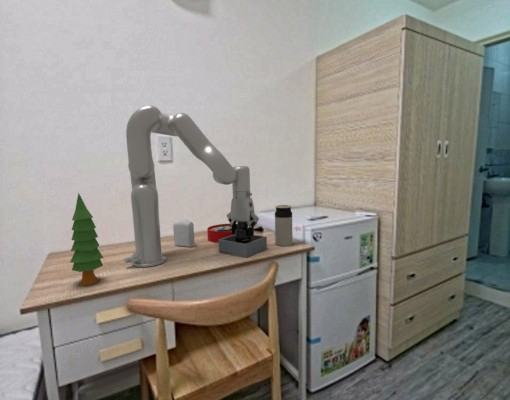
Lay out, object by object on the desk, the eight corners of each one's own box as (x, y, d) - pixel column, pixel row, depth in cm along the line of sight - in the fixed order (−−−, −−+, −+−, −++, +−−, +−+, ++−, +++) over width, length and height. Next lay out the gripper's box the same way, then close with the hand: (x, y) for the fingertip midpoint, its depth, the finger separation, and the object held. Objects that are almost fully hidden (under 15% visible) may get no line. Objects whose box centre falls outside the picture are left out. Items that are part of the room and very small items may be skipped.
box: (246, 257, 121) (245, 244, 121) (218, 252, 130) (218, 239, 129) (266, 248, 133) (266, 236, 133) (240, 244, 142) (240, 232, 141)
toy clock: (251, 229, 147) (211, 233, 141) (252, 241, 148) (211, 245, 142) (240, 222, 166) (204, 225, 160) (240, 232, 167) (204, 236, 160)
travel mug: (291, 246, 136) (291, 207, 133) (274, 246, 137) (273, 207, 135) (293, 242, 143) (292, 204, 141) (276, 241, 145) (275, 204, 143)
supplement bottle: (245, 251, 127) (245, 223, 125) (232, 249, 130) (231, 222, 129) (253, 247, 132) (253, 220, 131) (240, 246, 136) (240, 219, 135)
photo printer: (173, 245, 143) (171, 220, 141) (179, 243, 146) (177, 218, 145) (190, 247, 138) (188, 221, 136) (196, 245, 142) (194, 219, 140)
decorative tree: (71, 289, 94) (61, 194, 90) (74, 279, 103) (65, 191, 99) (105, 283, 98) (97, 192, 95) (106, 274, 107) (98, 190, 103)
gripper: (263, 195, 127) (264, 235, 129) (231, 193, 137) (232, 230, 139) (252, 196, 121) (253, 239, 123) (220, 195, 131) (222, 234, 133)
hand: (242, 234), depth 131 cm, fingers open, 8 cm apart
